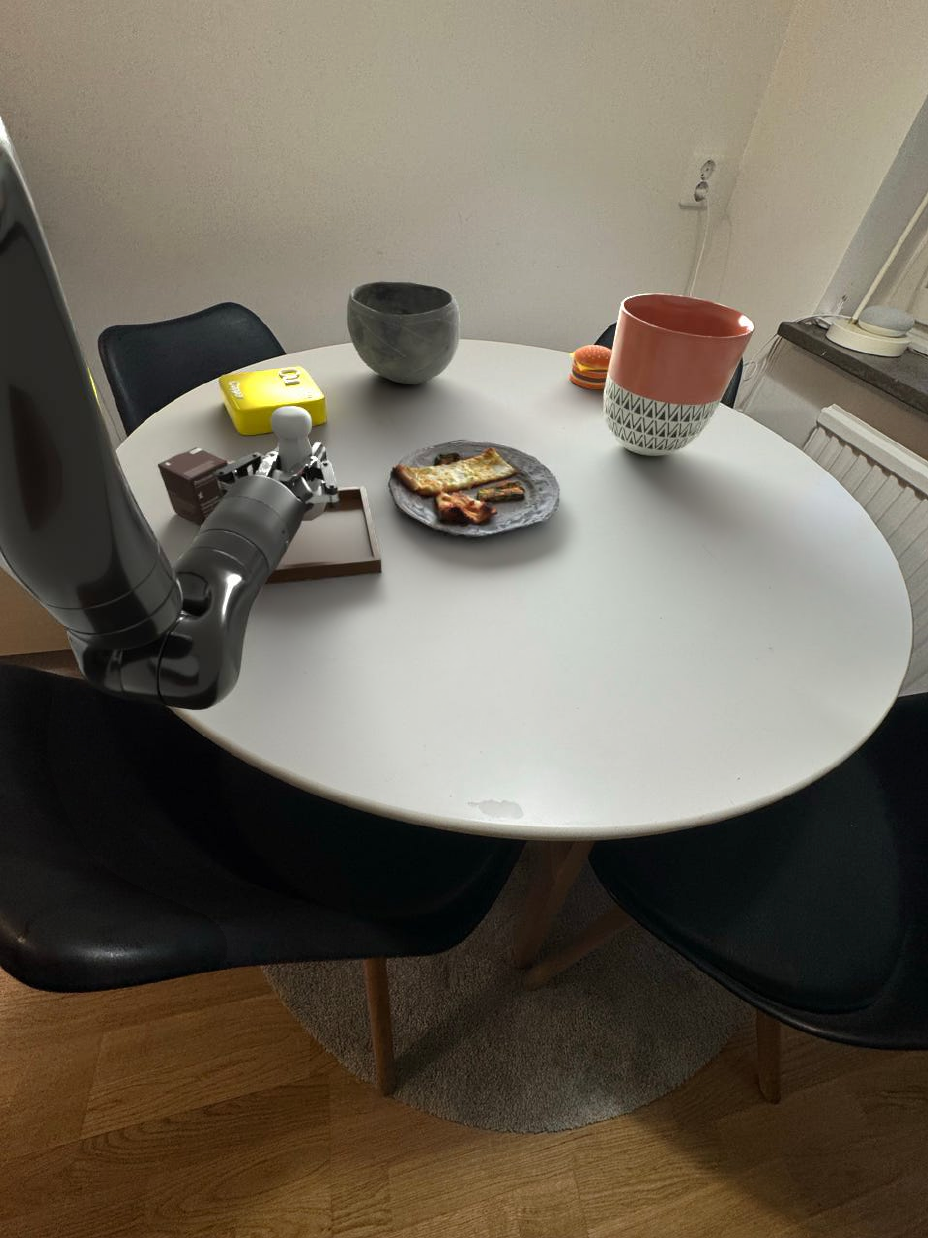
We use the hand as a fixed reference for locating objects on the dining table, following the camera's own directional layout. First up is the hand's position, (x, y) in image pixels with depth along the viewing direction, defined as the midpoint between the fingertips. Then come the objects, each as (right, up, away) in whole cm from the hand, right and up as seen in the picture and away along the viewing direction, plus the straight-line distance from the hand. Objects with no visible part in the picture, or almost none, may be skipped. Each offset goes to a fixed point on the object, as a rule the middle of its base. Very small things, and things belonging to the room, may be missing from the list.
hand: (305, 448), depth 65 cm
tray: (-1, -10, +6) cm, 12 cm away
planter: (+51, +10, +31) cm, 60 cm away
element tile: (-14, +16, +30) cm, 37 cm away
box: (-16, -6, +9) cm, 19 cm away
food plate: (+20, -2, +16) cm, 26 cm away
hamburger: (+46, +30, +50) cm, 74 cm away
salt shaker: (-1, -7, +3) cm, 8 cm away
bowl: (+7, +28, +44) cm, 53 cm away
